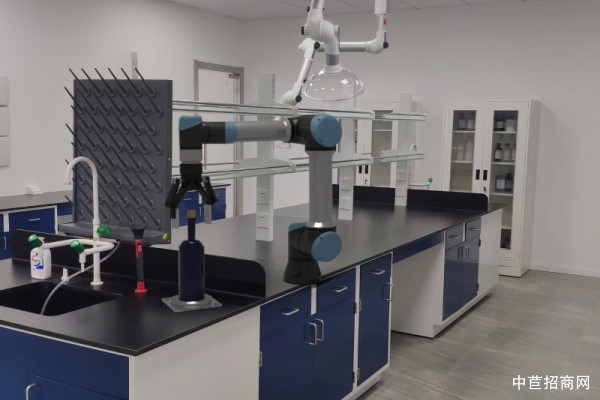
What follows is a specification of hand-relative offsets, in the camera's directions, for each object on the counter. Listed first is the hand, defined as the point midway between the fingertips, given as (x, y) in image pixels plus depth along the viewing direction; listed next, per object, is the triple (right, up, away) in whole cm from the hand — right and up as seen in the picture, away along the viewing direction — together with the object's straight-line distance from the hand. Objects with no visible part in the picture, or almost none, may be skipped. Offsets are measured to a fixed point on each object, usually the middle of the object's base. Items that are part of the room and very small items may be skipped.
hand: (192, 226), depth 210 cm
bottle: (-1, -25, +3) cm, 25 cm away
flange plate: (-1, -26, +3) cm, 26 cm away
